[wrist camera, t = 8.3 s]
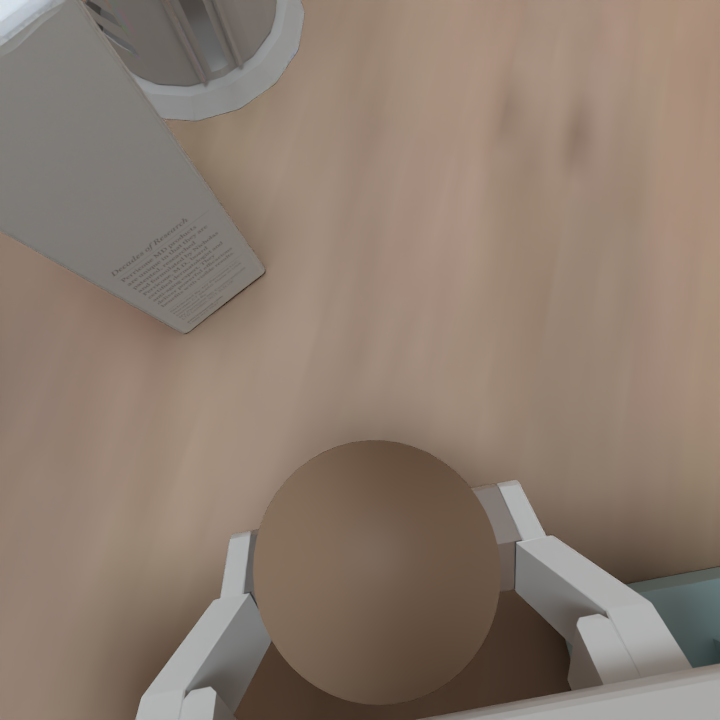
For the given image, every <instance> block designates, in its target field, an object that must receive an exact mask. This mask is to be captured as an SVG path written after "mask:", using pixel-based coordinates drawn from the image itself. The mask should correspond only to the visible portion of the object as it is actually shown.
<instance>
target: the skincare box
mask: <svg viewBox="0 0 720 720" xmlns="http://www.w3.org/2000/svg"><path fill="white" fill-rule="evenodd" d="M0 231H1V232H3V233H4V234H6V235H8V236H10V237H12V238H13V239H15V240H17V241H19V242H21V243H23V244H24V245H26V246H28V247H30V248H31V249H33V250H35V251H36V252H38V253H40V254H42V255H44V256H45V257H47V258H49V259H51V260H52V261H54V262H56V263H58V264H60V265H61V266H63V267H65V268H67V269H68V270H70V271H72V272H74V273H76V274H77V275H79V276H81V277H82V278H84V279H86V280H88V281H89V282H91V283H93V284H95V285H97V286H98V287H100V288H102V289H104V290H106V291H107V292H109V293H111V294H113V295H114V296H116V297H118V298H120V299H122V300H124V301H125V302H127V303H129V304H131V305H132V306H134V307H136V308H138V309H140V310H141V311H143V312H145V313H147V314H148V315H150V316H152V317H154V318H156V319H157V320H159V321H161V322H163V323H165V324H166V325H168V326H170V327H172V328H174V329H175V330H177V331H179V332H180V333H187V332H189V331H191V330H192V329H193V328H195V327H196V326H197V325H198V324H199V323H201V322H202V321H203V320H204V319H206V318H207V317H208V316H209V315H211V314H212V313H213V312H215V311H216V310H217V309H218V308H220V307H221V306H222V305H223V304H225V303H226V302H227V301H228V300H230V299H231V298H232V297H233V296H235V295H236V294H237V293H239V292H240V291H241V290H243V289H244V288H245V287H247V286H248V285H249V284H250V283H252V282H253V281H254V280H256V279H257V278H258V277H260V276H261V275H262V274H263V273H264V272H265V269H264V267H263V265H262V264H261V262H260V261H259V259H258V258H257V256H256V255H255V253H254V252H253V250H252V249H251V247H250V246H249V245H248V243H247V242H246V240H245V239H244V237H243V236H242V234H241V233H240V232H239V230H238V229H237V227H236V226H235V224H234V223H233V221H232V220H231V218H230V217H229V215H228V214H227V213H226V211H225V210H224V208H223V207H222V206H221V204H220V203H219V201H218V200H217V198H216V197H215V195H214V194H213V192H212V191H211V189H210V187H209V186H208V185H207V183H206V182H205V180H204V179H203V177H202V176H201V174H200V173H199V172H198V170H197V169H196V167H195V166H194V164H193V163H192V161H191V160H190V159H189V157H188V156H187V154H186V153H185V151H184V150H183V148H182V147H181V145H180V144H179V142H178V141H177V139H176V138H175V136H174V135H173V133H172V132H171V130H170V129H169V127H168V126H167V125H166V123H165V122H164V120H163V119H162V117H161V116H160V114H159V113H158V111H157V110H156V109H155V107H154V106H153V104H152V103H151V101H150V100H149V99H148V97H147V96H146V94H145V93H144V91H143V90H142V88H141V87H140V86H139V84H138V83H137V81H136V80H135V78H134V77H133V76H132V74H131V73H130V71H129V70H128V68H127V67H126V65H125V64H124V63H123V61H122V60H121V58H120V57H119V55H118V54H117V52H116V51H115V50H114V48H113V47H112V45H111V44H110V42H109V41H108V40H107V38H106V37H105V35H104V34H103V32H102V31H101V29H100V28H99V26H98V25H97V24H96V22H95V21H94V19H93V18H92V16H91V15H90V13H89V12H88V10H87V9H86V7H85V6H84V4H83V3H82V2H81V0H0Z"/></svg>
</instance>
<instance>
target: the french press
mask: <svg viewBox="0 0 720 720" xmlns="http://www.w3.org/2000/svg"><path fill="white" fill-rule="evenodd" d="M81 2H82V1H81ZM82 3H83V4H84V6H85V7H86V9H87V10H88V12H89V13H90V15H91V16H92V18H93V19H94V21H95V22H96V24H97V25H98V26H99V28H100V29H101V31H102V32H103V34H104V35H105V37H106V38H107V40H108V41H109V42H110V44H111V45H112V47H113V48H114V50H115V51H116V52H117V54H118V55H119V57H120V58H121V60H122V61H123V63H124V64H125V65H126V67H127V68H128V70H129V71H130V73H131V74H132V76H133V77H134V78H135V80H136V81H137V83H138V84H139V86H140V87H141V88H142V90H143V91H144V93H145V94H146V96H147V97H148V99H149V100H150V101H151V103H152V104H153V106H154V107H155V109H156V110H157V111H158V113H159V114H160V116H161V117H162V118H165V119H178V120H191V121H198V120H202V119H205V118H209V117H212V116H216V115H220V114H223V113H227V112H230V111H234V110H238V109H240V108H242V107H243V106H244V105H246V104H247V103H249V102H250V101H252V100H253V99H254V98H256V97H257V96H259V95H260V94H262V93H263V92H264V91H266V90H267V89H269V88H270V87H272V86H273V85H274V84H275V83H276V82H277V81H278V79H279V78H280V76H281V75H282V73H283V72H284V70H285V69H286V67H287V66H288V64H289V63H290V61H291V60H292V58H293V57H294V55H295V54H296V52H297V51H298V48H299V42H300V37H301V31H302V26H303V20H304V15H305V13H304V10H303V6H302V3H301V0H86V2H85V3H84V2H82Z"/></svg>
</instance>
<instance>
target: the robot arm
mask: <svg viewBox="0 0 720 720" xmlns="http://www.w3.org/2000/svg"><path fill="white" fill-rule="evenodd" d="M471 489H472V491H473V492H474V493H475V495H476V496H477V498H478V499H479V501H480V503H481V504H482V506H483V508H484V509H485V511H486V513H487V516H488V518H489V520H490V522H491V525H492V527H493V531H494V534H495V537H496V541H497V545H498V551H499V557H500V569H501V582H500V592H501V591H508V590H514V589H515V591H516V592H517V593H518V594H519V595H520V596H521V597H522V598H523V599H524V600H525V601H526V602H527V603H528V604H529V605H530V606H531V607H532V608H533V609H535V610H536V611H537V612H538V613H539V614H540V615H541V616H542V617H543V618H544V619H545V620H546V621H547V622H548V623H549V624H550V625H551V626H552V627H553V628H554V629H556V630H557V631H558V632H559V633H560V634H561V635H562V636H563V637H564V638H565V639H566V640H567V641H568V642H569V643H570V644H571V645H572V646H573V649H572V655H571V661H570V667H569V673H568V682H569V685H570V687H571V690H572V691H568V692H562V693H557V694H551V695H546V696H541V697H535V698H530V699H524V700H519V701H514V702H508V703H503V704H497V705H492V706H486V707H481V708H476V709H470V710H465V711H459V712H454V713H449V714H443V715H438V716H432V717H427V718H422V719H416V720H720V663H719V664H714V665H708V666H703V667H697V668H692V666H691V665H690V663H689V662H688V660H687V658H686V657H685V655H684V654H683V652H682V650H681V649H680V647H679V646H678V644H677V643H676V641H675V639H674V638H673V636H672V635H671V633H670V631H669V630H668V628H667V627H666V625H665V623H664V622H663V620H662V619H661V617H660V616H659V614H658V612H657V611H656V609H655V608H654V606H653V604H652V603H651V602H650V601H648V600H647V599H645V598H644V597H642V596H641V595H639V594H638V593H637V592H635V591H634V590H632V589H631V588H629V587H628V586H626V585H625V584H623V583H622V582H620V581H619V580H618V579H616V578H615V577H613V576H612V575H610V574H609V573H607V572H606V571H604V570H603V569H601V568H600V567H599V566H597V565H596V564H594V563H593V562H591V561H590V560H588V559H587V558H585V557H584V556H582V555H581V554H580V553H578V552H577V551H575V550H574V549H572V548H571V547H569V546H568V545H566V544H565V543H563V542H562V541H561V540H559V539H558V538H556V537H555V536H553V535H551V536H546V534H545V532H544V530H543V528H542V526H541V524H540V522H539V520H538V518H537V516H536V514H535V512H534V510H533V508H532V506H531V504H530V502H529V501H528V499H527V497H526V495H525V493H524V491H523V489H522V487H521V485H520V483H519V482H518V481H517V480H512V481H507V482H502V483H497V484H489V485H485V486H480V487H475V488H471ZM258 532H259V529H258V530H252V531H247V532H241V533H236V534H232V536H231V538H230V541H229V546H228V552H227V558H226V564H225V570H224V576H223V582H222V588H221V595H220V598H219V599H215V600H213V602H212V603H211V604H210V606H209V607H208V608H207V610H206V611H205V612H204V614H203V615H202V616H201V618H200V619H199V620H198V622H197V623H196V624H195V626H194V627H193V629H192V630H191V631H190V633H189V634H188V635H187V637H186V638H185V639H184V641H183V642H182V643H181V645H180V646H179V647H178V649H177V650H176V651H175V653H174V654H173V655H172V657H171V658H170V660H169V661H168V662H167V664H166V665H165V666H164V668H163V669H162V670H161V672H160V673H159V674H158V676H157V677H156V678H155V680H154V681H153V682H152V684H151V685H150V686H149V688H148V689H147V691H146V692H145V693H144V695H143V696H142V697H141V701H140V705H139V708H138V712H137V716H136V720H237V719H236V717H235V716H234V713H235V712H236V710H237V708H238V706H239V704H240V702H241V700H242V698H243V696H244V694H245V692H246V690H247V688H248V686H249V684H250V682H251V680H252V678H253V676H254V674H255V672H256V670H257V669H258V667H259V665H260V663H261V661H262V659H263V657H264V655H265V653H266V651H267V649H268V647H269V645H270V643H271V641H272V640H271V639H270V637H269V634H268V632H267V630H266V628H265V626H264V624H263V621H262V618H261V615H260V612H259V609H258V606H257V601H256V596H255V591H254V580H253V560H254V550H255V545H256V539H257V535H258Z"/></svg>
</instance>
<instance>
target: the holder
mask: <svg viewBox="0 0 720 720" xmlns="http://www.w3.org/2000/svg"><path fill="white" fill-rule="evenodd" d="M625 585H626V586H628V587H629V588H631V589H632V590H634V591H635V592H637V593H638V594H639V595H641V596H642V597H644V598H645V599H647V600H648V601H650V602H651V603H652V604H653V606H654V608H655V609H656V611H657V612H658V614H659V616H660V617H661V619H662V620H663V622H664V623H665V625H666V627H667V628H668V630H669V631H670V633H671V635H672V636H673V638H674V639H675V641H676V643H677V644H678V646H679V647H680V649H681V650H682V652H683V654H684V655H685V657H686V658H687V660H688V662H689V663H690V665H691V666H692V668H697V667H703V666H708V665H714V664H719V663H720V567H715V568H710V569H705V570H699V571H694V572H689V573H683V574H678V575H673V576H667V577H662V578H657V579H651V580H646V581H641V582H635V583H630V584H625ZM565 640H566V639H565ZM566 644H567V647H568V651H569V655H570V659H571V655H572V649H573V646H572V645H571V644H570V643H569V642H568V641H567V640H566Z"/></svg>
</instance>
